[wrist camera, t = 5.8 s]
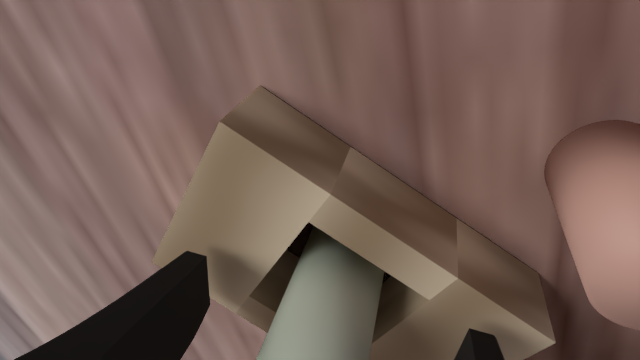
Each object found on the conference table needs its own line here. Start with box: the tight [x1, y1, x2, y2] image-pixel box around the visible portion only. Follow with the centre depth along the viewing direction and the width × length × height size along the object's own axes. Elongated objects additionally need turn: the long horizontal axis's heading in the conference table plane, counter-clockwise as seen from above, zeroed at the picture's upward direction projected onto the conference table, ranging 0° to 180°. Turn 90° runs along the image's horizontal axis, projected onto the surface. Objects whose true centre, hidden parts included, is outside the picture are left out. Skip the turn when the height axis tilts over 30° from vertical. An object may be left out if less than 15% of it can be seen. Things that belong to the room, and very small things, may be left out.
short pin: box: [544, 120, 640, 331], centre depth 9 cm, size 3×3×4 cm
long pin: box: [256, 226, 384, 360], centre depth 11 cm, size 3×3×8 cm
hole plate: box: [152, 86, 556, 360], centre depth 13 cm, size 10×6×2 cm, turn 59°
